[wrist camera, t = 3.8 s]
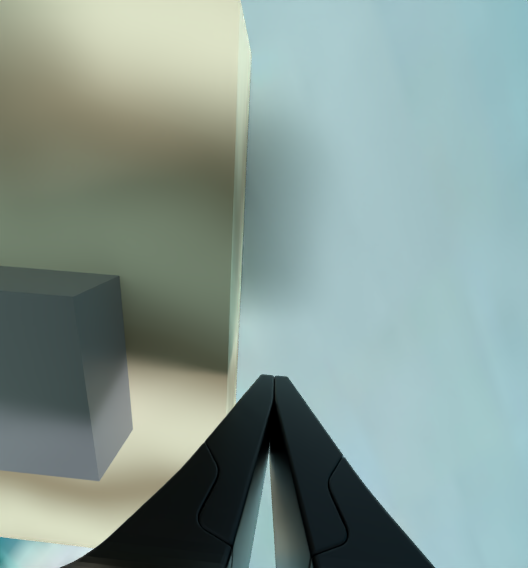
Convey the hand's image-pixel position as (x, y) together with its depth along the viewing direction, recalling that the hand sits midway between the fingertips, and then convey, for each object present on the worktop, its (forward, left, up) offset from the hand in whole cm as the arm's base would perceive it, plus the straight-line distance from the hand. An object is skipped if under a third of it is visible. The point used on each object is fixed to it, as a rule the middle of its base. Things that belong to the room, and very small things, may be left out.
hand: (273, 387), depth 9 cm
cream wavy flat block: (0, +9, -3) cm, 9 cm away
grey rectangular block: (0, +10, -1) cm, 10 cm away
